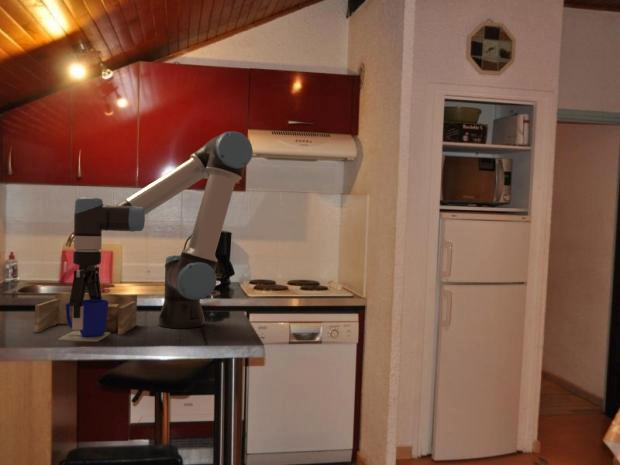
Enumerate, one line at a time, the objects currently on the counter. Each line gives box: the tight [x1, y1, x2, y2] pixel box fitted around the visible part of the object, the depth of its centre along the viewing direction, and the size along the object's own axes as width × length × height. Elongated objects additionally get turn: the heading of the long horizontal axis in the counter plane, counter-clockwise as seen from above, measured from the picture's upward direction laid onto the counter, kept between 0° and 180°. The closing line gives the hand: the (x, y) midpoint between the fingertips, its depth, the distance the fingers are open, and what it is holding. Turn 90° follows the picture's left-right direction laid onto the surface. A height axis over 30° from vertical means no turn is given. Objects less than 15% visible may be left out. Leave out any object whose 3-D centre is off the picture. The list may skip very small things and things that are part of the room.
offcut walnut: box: [105, 318, 118, 333], centre depth 182 cm, size 6×7×4 cm
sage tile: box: [57, 330, 111, 343], centre depth 170 cm, size 11×11×1 cm
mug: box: [66, 299, 108, 337], centre depth 170 cm, size 8×12×10 cm
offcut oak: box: [107, 304, 119, 320], centre depth 182 cm, size 5×6×4 cm
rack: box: [34, 291, 138, 335], centre depth 183 cm, size 26×16×10 cm, turn 91°
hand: (85, 325), depth 170 cm, fingers open, 11 cm apart
